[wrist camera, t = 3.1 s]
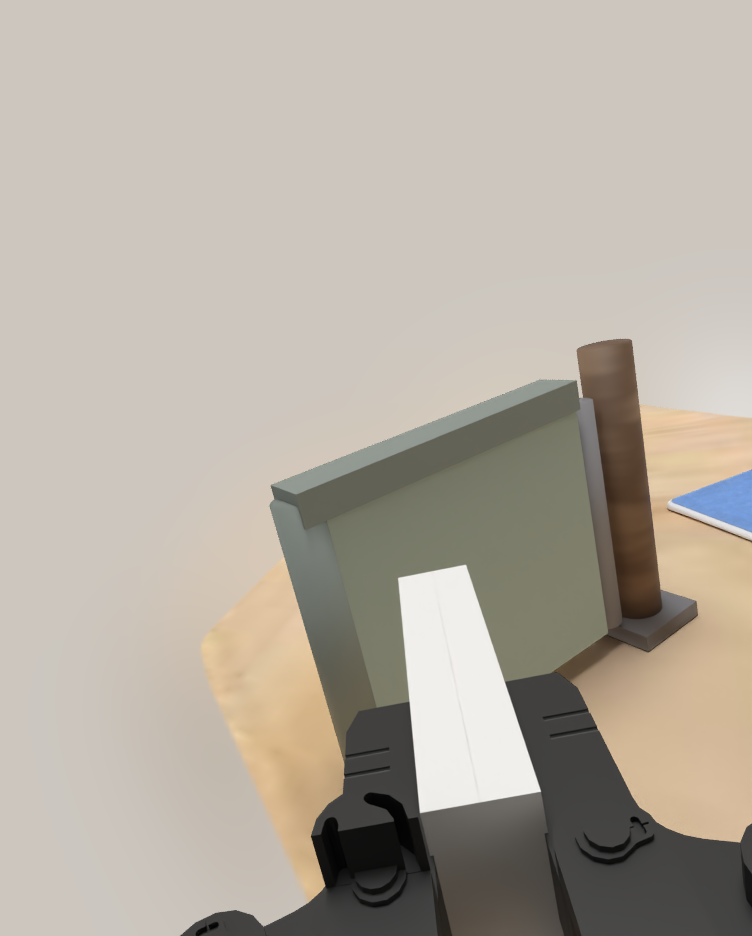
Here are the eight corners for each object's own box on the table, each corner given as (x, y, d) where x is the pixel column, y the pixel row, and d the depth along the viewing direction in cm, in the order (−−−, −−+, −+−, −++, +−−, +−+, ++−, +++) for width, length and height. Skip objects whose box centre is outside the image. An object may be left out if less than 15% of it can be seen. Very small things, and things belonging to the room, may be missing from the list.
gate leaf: (599, 607, 43) (564, 370, 38) (633, 619, 40) (601, 370, 36) (340, 777, 33) (256, 490, 29) (368, 806, 31) (280, 500, 27)
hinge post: (630, 592, 46) (597, 336, 41) (697, 614, 42) (670, 332, 37) (582, 624, 44) (540, 357, 39) (648, 651, 40) (611, 356, 35)
